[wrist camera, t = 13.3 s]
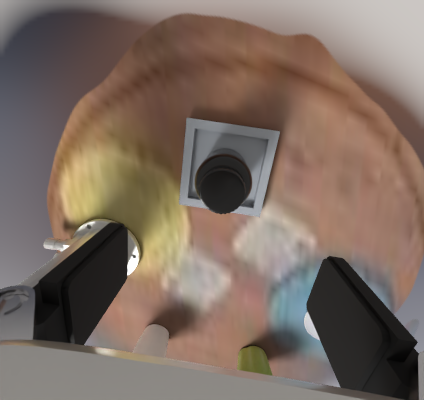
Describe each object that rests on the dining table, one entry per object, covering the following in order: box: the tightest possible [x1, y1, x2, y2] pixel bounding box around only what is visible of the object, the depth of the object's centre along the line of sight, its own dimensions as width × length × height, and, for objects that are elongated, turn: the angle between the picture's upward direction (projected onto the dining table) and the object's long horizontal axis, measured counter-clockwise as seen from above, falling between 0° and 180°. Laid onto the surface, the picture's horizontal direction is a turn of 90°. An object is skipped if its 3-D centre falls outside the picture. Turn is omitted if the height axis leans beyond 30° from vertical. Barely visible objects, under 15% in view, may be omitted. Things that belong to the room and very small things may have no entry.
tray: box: [179, 118, 280, 217], centre depth 32 cm, size 13×13×2 cm
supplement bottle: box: [195, 148, 252, 214], centre depth 26 cm, size 7×7×12 cm
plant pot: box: [237, 346, 273, 376], centre depth 42 cm, size 9×9×9 cm
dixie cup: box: [132, 324, 169, 358], centre depth 41 cm, size 8×8×10 cm
